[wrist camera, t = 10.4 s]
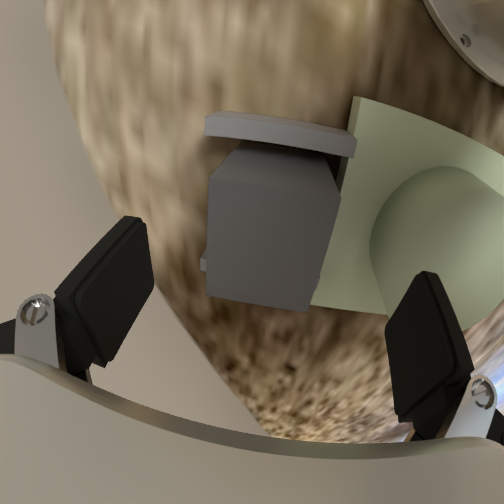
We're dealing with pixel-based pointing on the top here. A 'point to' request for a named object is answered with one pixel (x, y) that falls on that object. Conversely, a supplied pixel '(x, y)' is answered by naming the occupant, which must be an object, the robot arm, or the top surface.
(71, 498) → the robot arm
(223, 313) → the top surface
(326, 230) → the grey rectangular block
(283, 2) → the top surface
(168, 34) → the top surface
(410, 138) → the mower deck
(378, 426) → the top surface
